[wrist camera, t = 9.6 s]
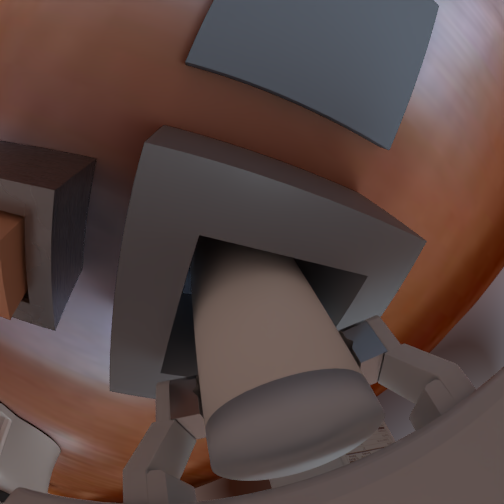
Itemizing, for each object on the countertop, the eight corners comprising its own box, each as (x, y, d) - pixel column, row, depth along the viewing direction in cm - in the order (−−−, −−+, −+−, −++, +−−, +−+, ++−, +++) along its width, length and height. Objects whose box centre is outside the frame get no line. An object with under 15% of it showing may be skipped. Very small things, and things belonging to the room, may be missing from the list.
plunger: (9, 232, 12) (-47, 296, 7) (10, 173, 10) (-61, 222, 5) (56, 245, 13) (10, 320, 8) (62, 184, 11) (-2, 242, 6)
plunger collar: (-4, 245, 12) (-45, 294, 8) (-2, 140, 10) (-60, 166, 5) (82, 269, 14) (55, 330, 10) (96, 158, 12) (54, 190, 8)
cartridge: (180, 281, 16) (194, 483, 7) (205, 199, 14) (250, 413, 5) (260, 296, 18) (326, 469, 8) (293, 224, 16) (416, 395, 6)
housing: (123, 310, 16) (109, 391, 11) (163, 125, 12) (144, 142, 7) (283, 335, 20) (310, 404, 15) (358, 192, 16) (426, 241, 11)
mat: (185, 64, 11) (185, 61, 10) (269, -87, 6) (274, -95, 5) (378, 146, 14) (389, 150, 14) (428, 7, 10) (439, 5, 9)
